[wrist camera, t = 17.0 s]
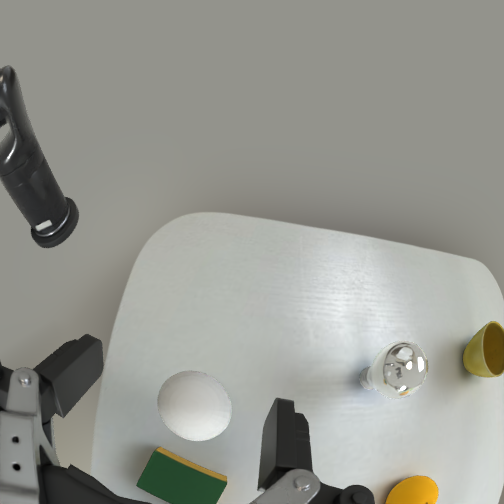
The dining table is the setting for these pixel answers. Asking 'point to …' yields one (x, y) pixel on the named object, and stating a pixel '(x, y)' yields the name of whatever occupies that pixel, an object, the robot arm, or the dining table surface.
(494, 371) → the flower pot
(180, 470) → the sponge
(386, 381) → the light bulb
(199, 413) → the lollipop
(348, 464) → the dining table surface
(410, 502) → the orange
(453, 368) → the dining table surface
